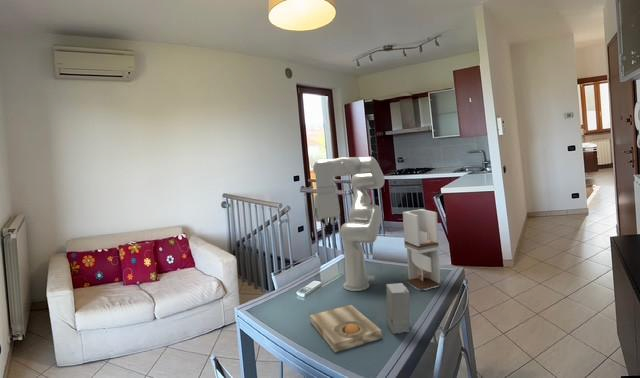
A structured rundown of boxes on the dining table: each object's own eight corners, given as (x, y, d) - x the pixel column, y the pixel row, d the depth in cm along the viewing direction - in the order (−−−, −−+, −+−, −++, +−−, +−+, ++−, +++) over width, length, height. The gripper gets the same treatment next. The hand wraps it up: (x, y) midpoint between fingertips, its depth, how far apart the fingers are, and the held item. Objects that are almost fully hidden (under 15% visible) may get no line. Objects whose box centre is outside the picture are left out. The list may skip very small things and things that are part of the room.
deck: (351, 311, 150) (351, 304, 150) (381, 338, 128) (381, 330, 128) (310, 322, 144) (310, 315, 144) (335, 352, 122) (334, 343, 121)
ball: (359, 338, 131) (352, 325, 134) (363, 332, 127) (356, 319, 130) (347, 343, 129) (341, 329, 132) (350, 337, 125) (344, 324, 128)
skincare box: (386, 323, 138) (383, 283, 136) (404, 321, 138) (402, 281, 137) (392, 335, 130) (390, 292, 128) (412, 332, 130) (409, 290, 128)
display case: (406, 283, 175) (402, 212, 171) (425, 279, 178) (422, 209, 174) (420, 291, 164) (416, 215, 160) (440, 287, 168) (436, 212, 164)
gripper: (338, 187, 157) (341, 229, 159) (305, 191, 151) (309, 234, 154) (345, 189, 150) (349, 232, 152) (311, 193, 144) (315, 238, 147)
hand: (329, 233), depth 153 cm, fingers closed
